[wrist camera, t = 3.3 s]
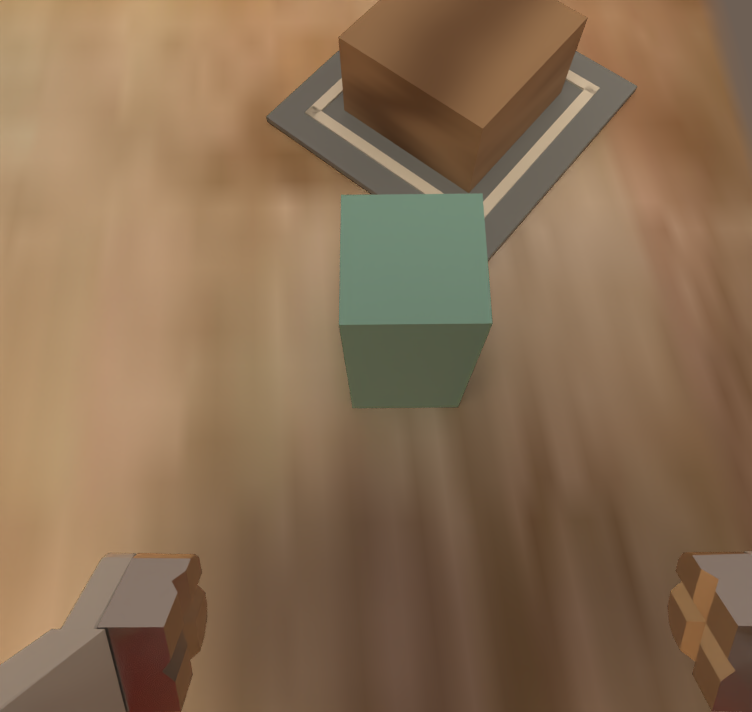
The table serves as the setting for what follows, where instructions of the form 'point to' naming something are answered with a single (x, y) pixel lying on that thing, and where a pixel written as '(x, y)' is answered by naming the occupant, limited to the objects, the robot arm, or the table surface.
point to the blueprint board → (411, 176)
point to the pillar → (412, 297)
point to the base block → (457, 75)
